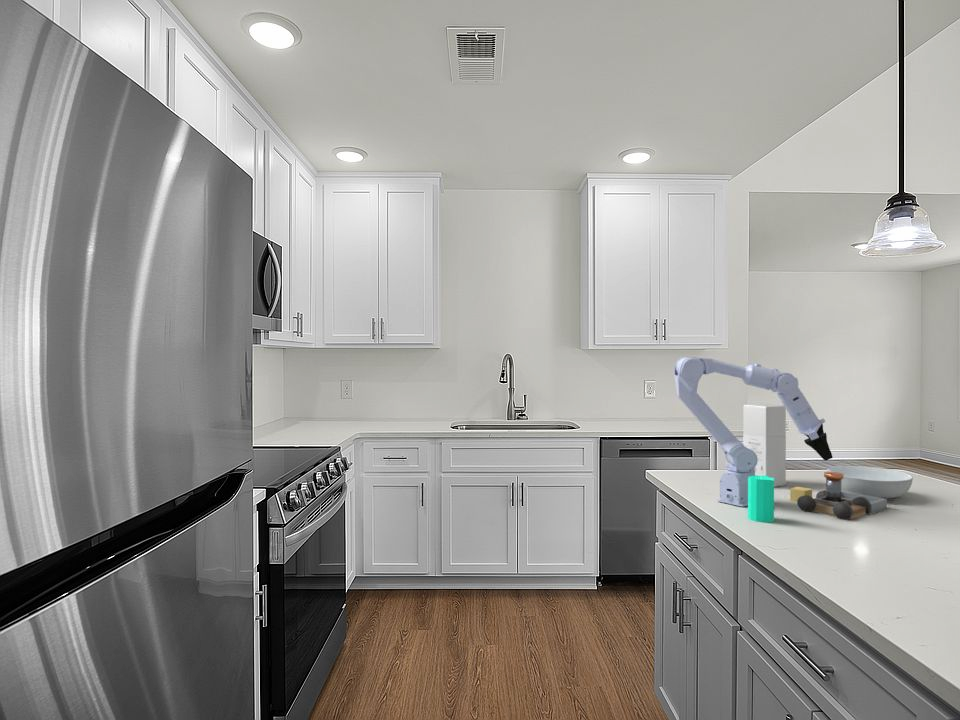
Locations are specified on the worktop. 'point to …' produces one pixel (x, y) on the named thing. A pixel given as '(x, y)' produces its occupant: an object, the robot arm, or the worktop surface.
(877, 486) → the serving bowl
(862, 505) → the trolley
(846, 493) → the tray
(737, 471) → the robot arm
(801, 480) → the worktop surface
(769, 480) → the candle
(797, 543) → the worktop surface
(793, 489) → the yellow cube
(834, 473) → the pin
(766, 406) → the tall white carton
